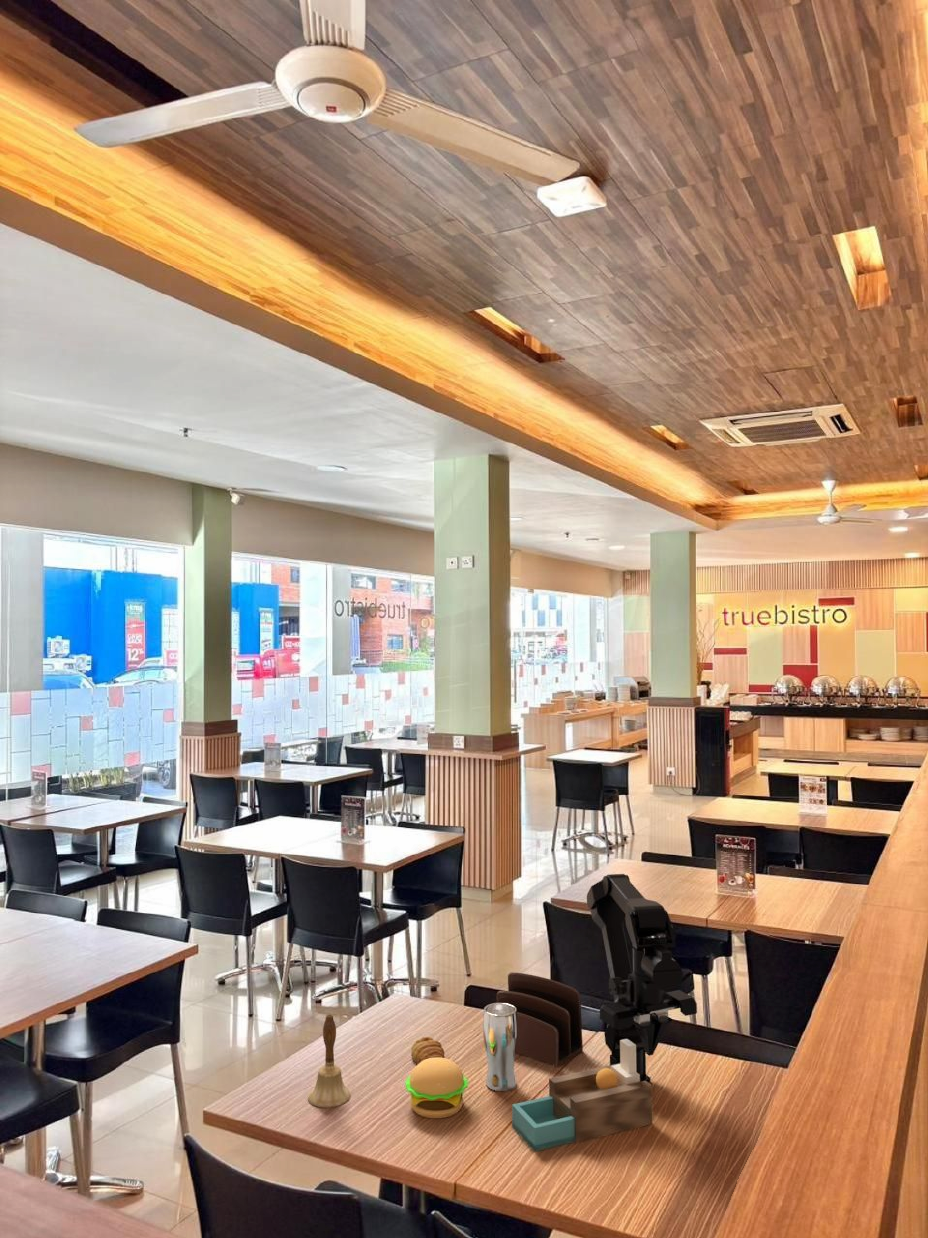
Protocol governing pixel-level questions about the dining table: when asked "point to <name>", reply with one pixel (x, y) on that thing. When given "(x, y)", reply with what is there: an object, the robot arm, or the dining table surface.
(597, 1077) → the ball
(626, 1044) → the white offset block
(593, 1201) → the dining table surface
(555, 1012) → the letter holder
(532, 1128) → the teal open box
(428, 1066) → the hamburger
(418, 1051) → the pastry
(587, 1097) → the launcher deck
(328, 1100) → the hand bell
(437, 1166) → the dining table surface
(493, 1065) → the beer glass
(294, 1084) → the dining table surface
